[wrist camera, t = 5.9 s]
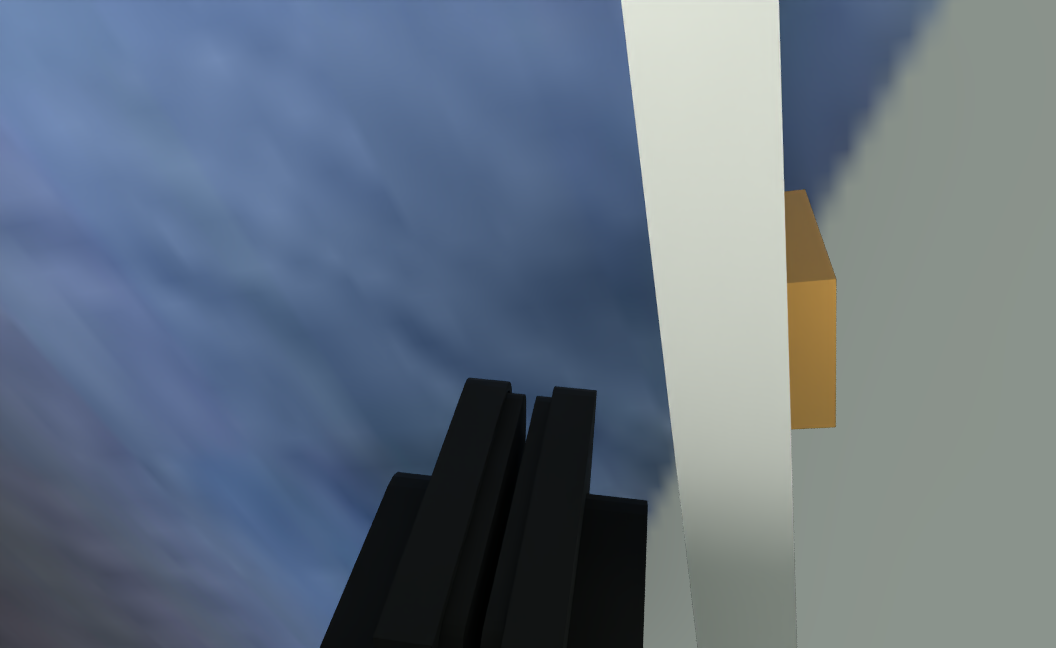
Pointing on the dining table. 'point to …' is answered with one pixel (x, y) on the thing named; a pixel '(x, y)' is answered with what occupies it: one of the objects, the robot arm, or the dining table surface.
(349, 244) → the dining table surface
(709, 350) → the side door
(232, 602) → the dining table surface
